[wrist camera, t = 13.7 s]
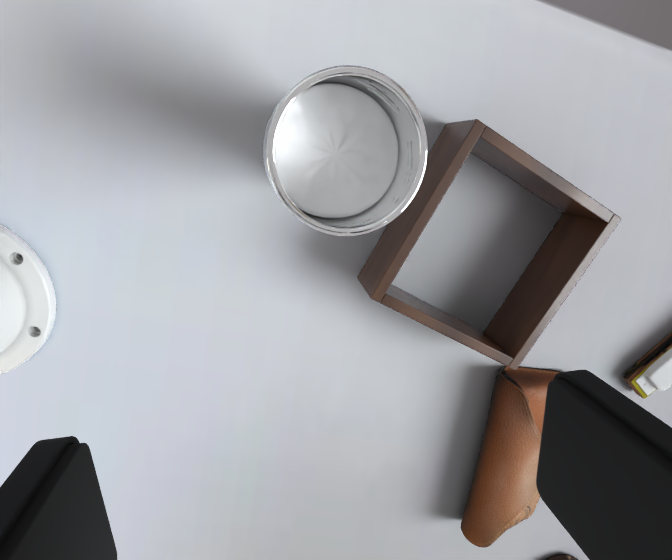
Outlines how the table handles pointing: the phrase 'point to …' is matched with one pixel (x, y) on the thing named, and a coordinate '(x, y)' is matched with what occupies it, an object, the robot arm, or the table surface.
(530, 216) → the table surface
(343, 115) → the beer glass
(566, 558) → the compass
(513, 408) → the sunglasses case
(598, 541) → the robot arm
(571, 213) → the crate
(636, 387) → the harmonica
